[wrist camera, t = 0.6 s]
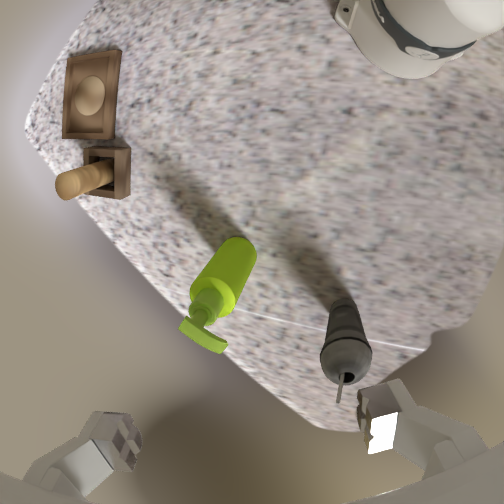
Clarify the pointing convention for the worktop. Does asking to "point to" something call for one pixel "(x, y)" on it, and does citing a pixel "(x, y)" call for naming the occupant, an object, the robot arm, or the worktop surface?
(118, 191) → the socket
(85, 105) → the tray
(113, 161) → the dowel
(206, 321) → the soap dispenser
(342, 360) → the beverage cup
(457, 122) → the worktop surface
